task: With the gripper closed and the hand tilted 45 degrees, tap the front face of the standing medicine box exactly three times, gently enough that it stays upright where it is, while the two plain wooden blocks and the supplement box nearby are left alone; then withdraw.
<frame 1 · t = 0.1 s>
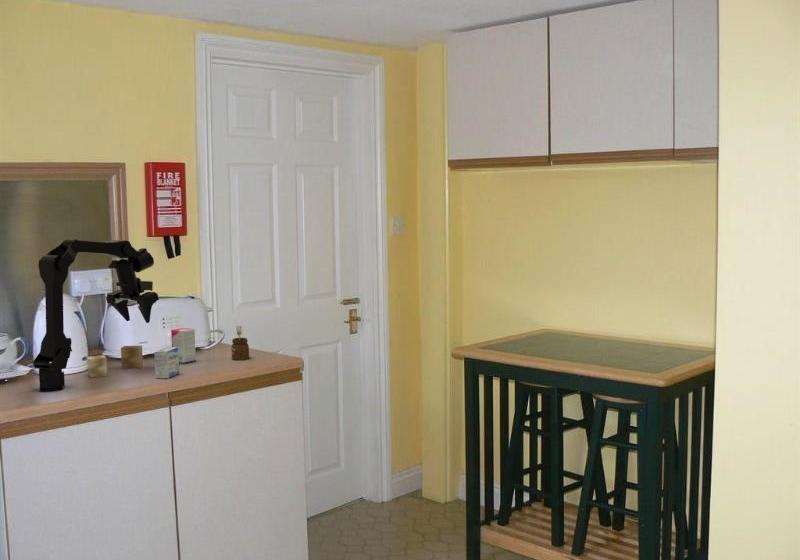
hand: (138, 321, 287), 15 cm above the table, tool pointing down, fingers open, 9 cm apart
oak block: (132, 367, 289), on the table
medicine box: (167, 376, 275), on the table
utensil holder: (240, 359, 301), on the table
supplement box: (184, 362, 297), on the table
beech block: (97, 375, 277), on the table
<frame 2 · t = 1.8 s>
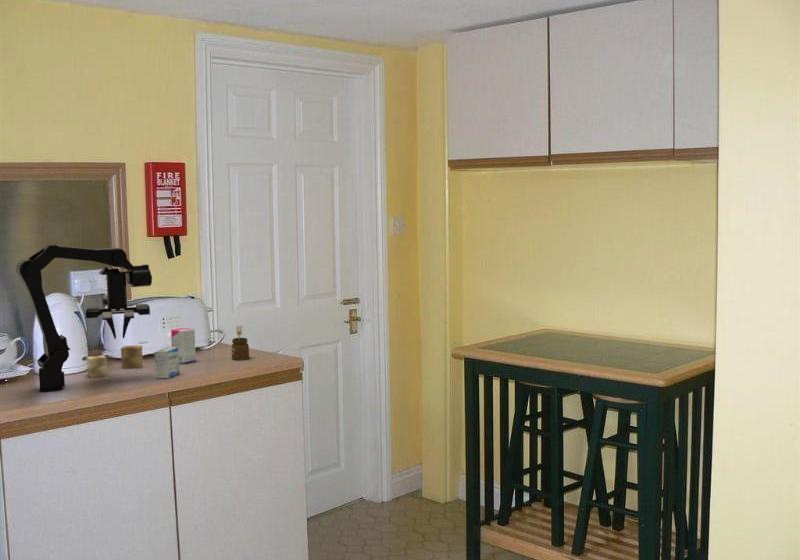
hand: (119, 338, 269), 13 cm above the table, tool pointing down, fingers closed
nothing on the table moved.
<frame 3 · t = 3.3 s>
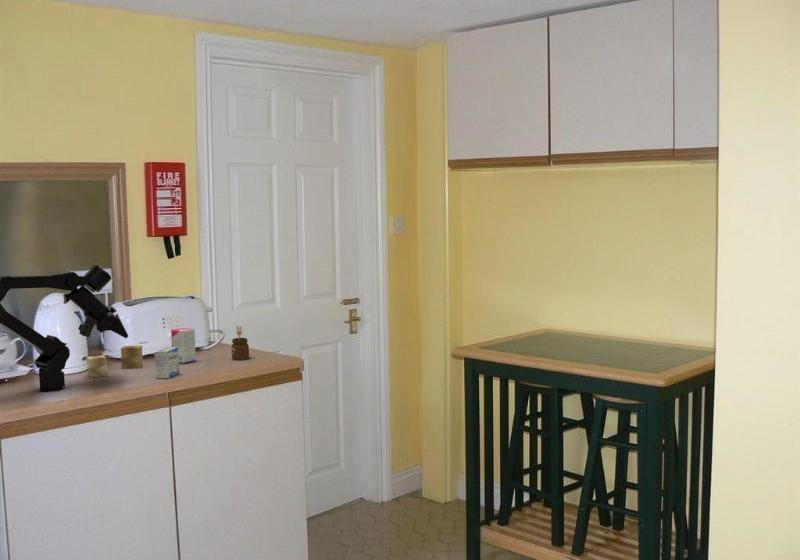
hand: (127, 337, 269), 13 cm above the table, tool tilted 45°, fingers closed
nothing on the table moved.
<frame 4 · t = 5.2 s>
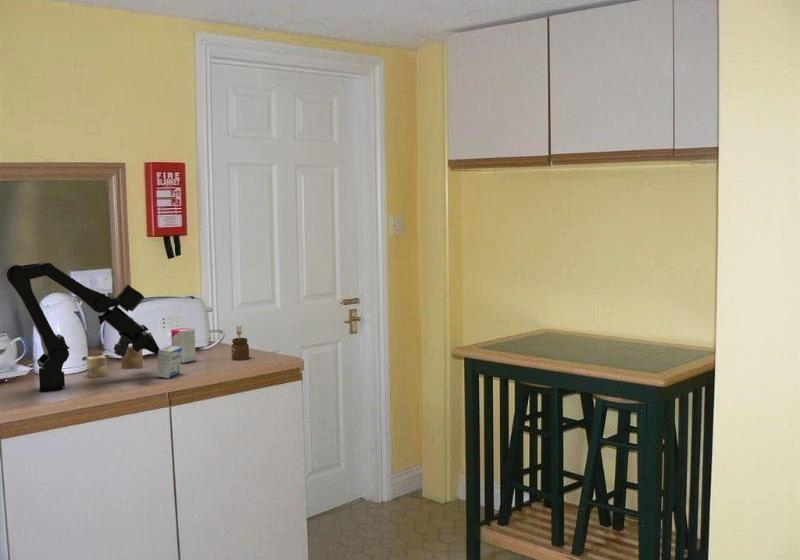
hand: (161, 354, 273), 7 cm above the table, tool tilted 45°, fingers closed
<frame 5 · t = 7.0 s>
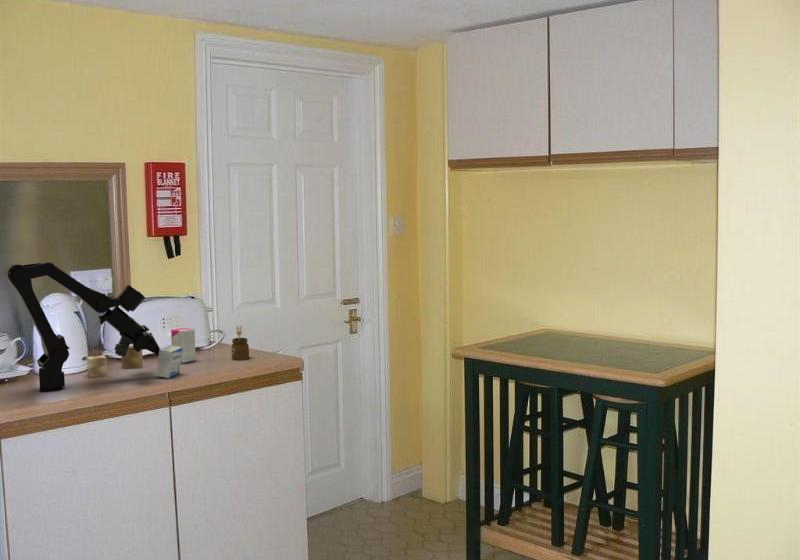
hand: (161, 355, 273), 7 cm above the table, tool tilted 45°, fingers closed
medicine box: (167, 375, 274), on the table, touching gripper
everything else where it was.
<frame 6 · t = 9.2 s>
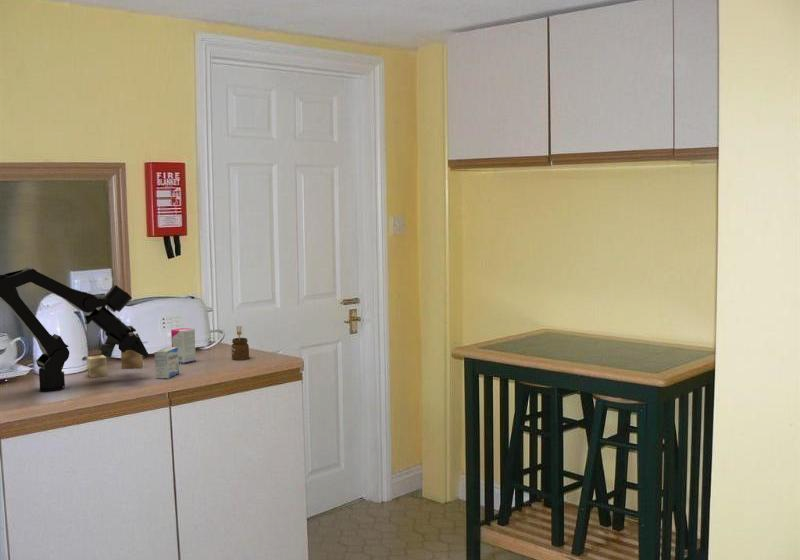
hand: (147, 356, 272), 7 cm above the table, tool tilted 45°, fingers closed
medicine box: (167, 376, 275), on the table
everything else where it was.
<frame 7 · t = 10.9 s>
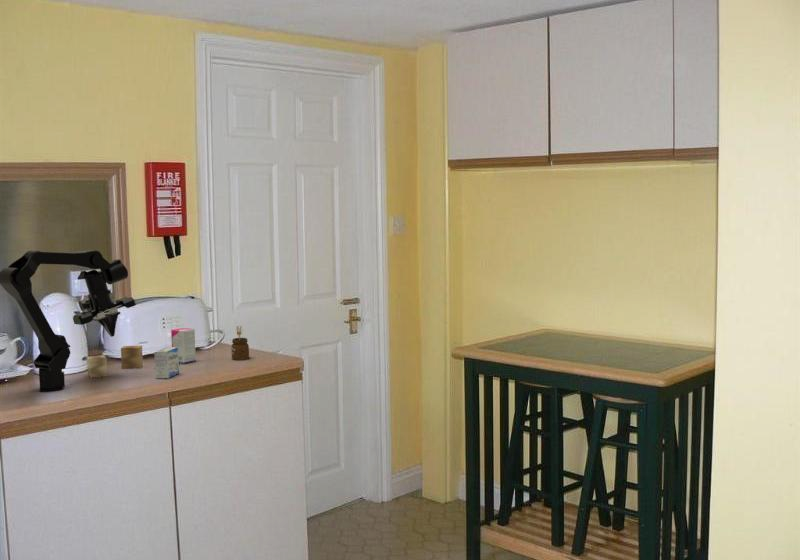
hand: (112, 336, 273), 13 cm above the table, tool pointing down, fingers closed
nothing on the table moved.
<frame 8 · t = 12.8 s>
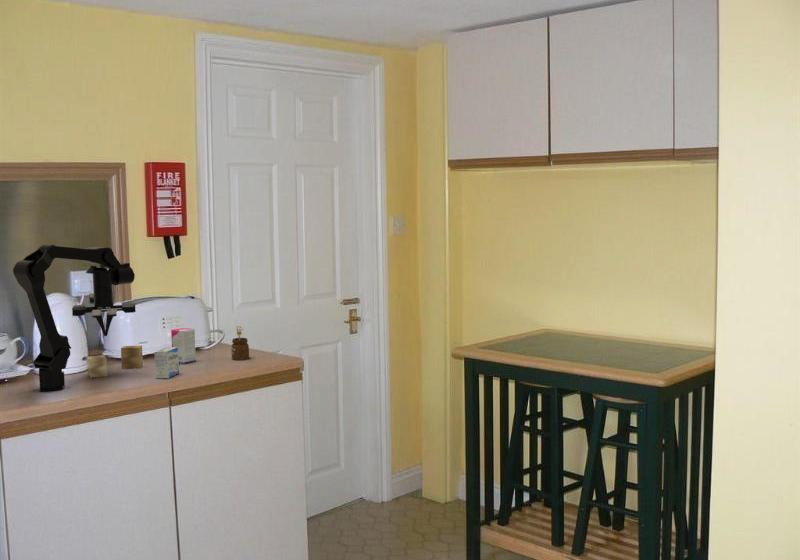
hand: (105, 336, 274), 13 cm above the table, tool pointing down, fingers closed
nothing on the table moved.
at the end: medicine box moved 0.3 cm from its start; medicine box tilted 0°; the gripper is holding nothing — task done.
